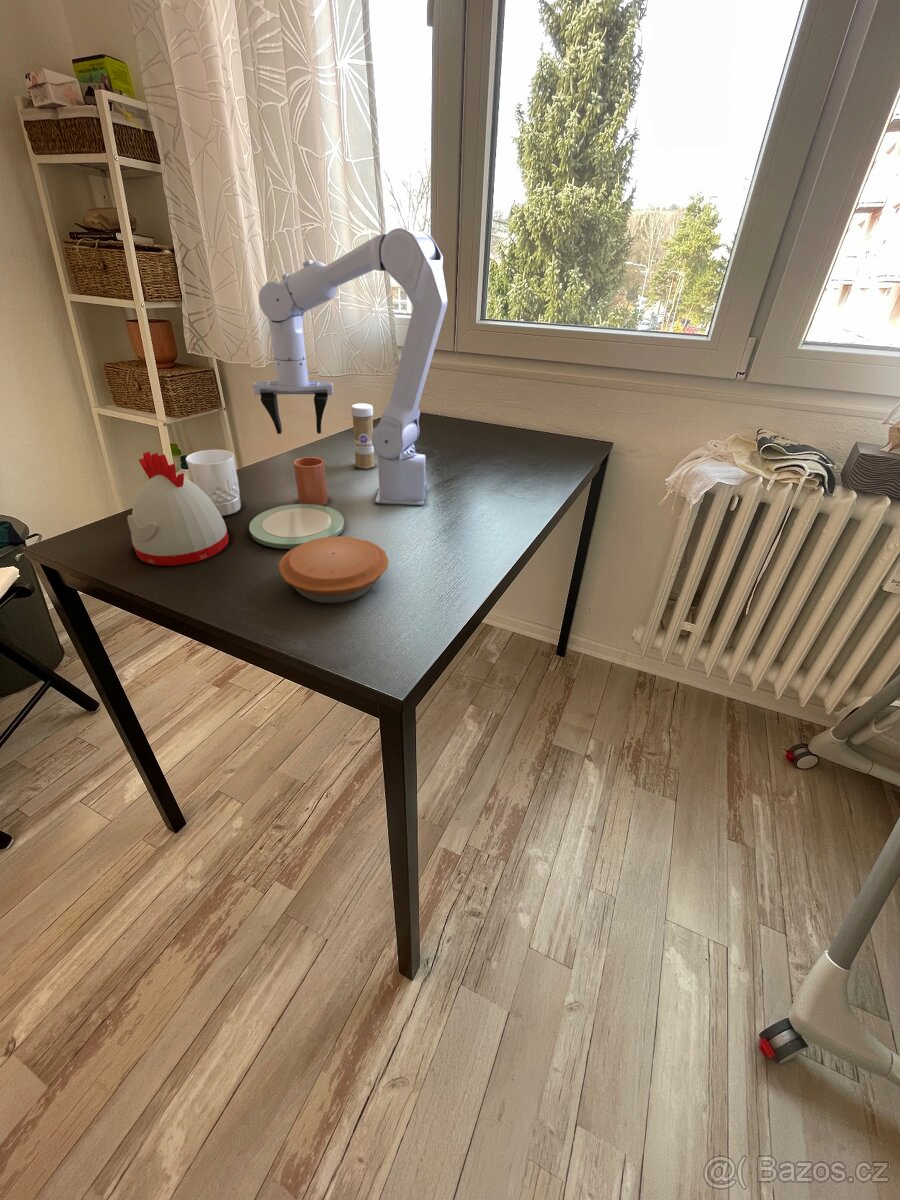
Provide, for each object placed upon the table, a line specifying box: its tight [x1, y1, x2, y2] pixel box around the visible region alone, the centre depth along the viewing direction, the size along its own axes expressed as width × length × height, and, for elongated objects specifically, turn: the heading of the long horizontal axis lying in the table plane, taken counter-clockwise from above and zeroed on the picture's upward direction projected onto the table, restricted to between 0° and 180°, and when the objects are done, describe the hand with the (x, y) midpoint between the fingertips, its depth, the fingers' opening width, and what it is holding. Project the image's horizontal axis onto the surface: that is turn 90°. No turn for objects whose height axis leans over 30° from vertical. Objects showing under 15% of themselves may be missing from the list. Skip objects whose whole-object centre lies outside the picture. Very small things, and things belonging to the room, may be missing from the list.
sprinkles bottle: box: [350, 402, 376, 470], centre depth 113 cm, size 5×5×14 cm
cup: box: [293, 456, 329, 506], centre depth 97 cm, size 5×5×8 cm
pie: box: [278, 535, 389, 604], centre depth 74 cm, size 16×16×5 cm
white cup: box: [185, 449, 242, 517], centre depth 92 cm, size 8×8×10 cm
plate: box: [248, 503, 345, 550], centre depth 89 cm, size 16×16×1 cm
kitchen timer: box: [126, 451, 230, 566], centre depth 79 cm, size 14×14×15 cm
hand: (299, 432), depth 102 cm, fingers open, 7 cm apart
